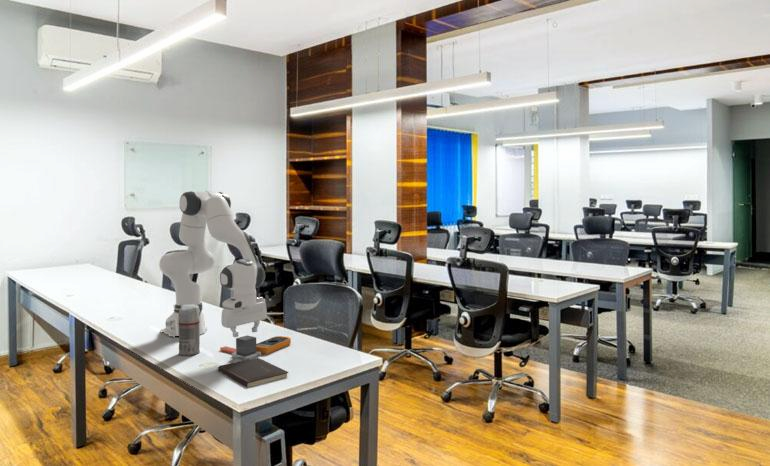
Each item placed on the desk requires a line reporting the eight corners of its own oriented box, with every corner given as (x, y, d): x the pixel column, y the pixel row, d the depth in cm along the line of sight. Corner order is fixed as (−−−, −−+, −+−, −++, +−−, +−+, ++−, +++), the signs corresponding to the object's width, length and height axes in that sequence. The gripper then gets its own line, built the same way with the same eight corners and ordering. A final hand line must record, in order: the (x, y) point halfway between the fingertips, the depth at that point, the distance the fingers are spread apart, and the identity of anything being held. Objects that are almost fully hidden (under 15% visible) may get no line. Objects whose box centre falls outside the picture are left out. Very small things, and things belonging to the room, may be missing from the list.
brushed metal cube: (236, 353, 209) (235, 338, 208) (247, 349, 213) (247, 335, 213) (245, 355, 206) (245, 340, 205) (256, 352, 210) (256, 337, 210)
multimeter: (293, 344, 227) (292, 336, 227) (267, 355, 211) (267, 347, 211) (276, 342, 231) (276, 334, 231) (250, 353, 215) (250, 345, 214)
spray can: (205, 352, 215) (203, 304, 214) (188, 357, 208) (187, 307, 207) (191, 349, 219) (190, 302, 218) (174, 354, 212) (173, 305, 211)
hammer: (214, 352, 215) (214, 341, 215) (230, 347, 222) (230, 337, 221) (244, 360, 204) (244, 348, 204) (260, 355, 210) (260, 344, 210)
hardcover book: (257, 363, 202) (257, 357, 202) (288, 378, 185) (288, 371, 185) (217, 372, 191) (217, 366, 191) (246, 389, 174) (246, 382, 174)
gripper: (260, 295, 218) (260, 327, 219) (218, 303, 202) (219, 338, 203) (270, 297, 215) (270, 330, 216) (229, 305, 198) (229, 341, 199)
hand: (245, 334), depth 209 cm, fingers open, 8 cm apart
